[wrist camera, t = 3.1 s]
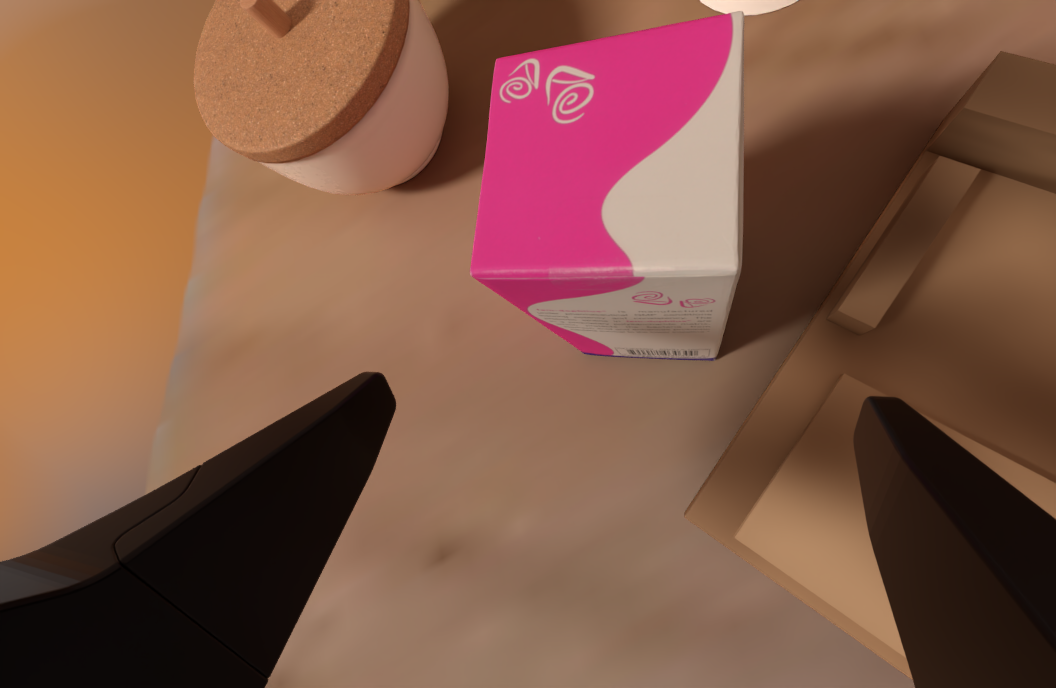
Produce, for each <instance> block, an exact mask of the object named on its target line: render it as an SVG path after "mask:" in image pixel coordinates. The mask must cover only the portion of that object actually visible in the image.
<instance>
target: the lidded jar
mask: <svg viewBox="0 0 1056 688" xmlns="http://www.w3.org/2000/svg"><path fill="white" fill-rule="evenodd" d="M194 88H195V96H196V100H197V105H198V109H199V112H200V113H201V116H202V118H203V120H204V122H205V124H206V126H207V128H208V129H209V130H210V131H211V133H212V134H213V135H214V137H215V138H217V139H218V140H219V141H220V142H221V143H223V144H224V145H225V146H227V147H228V148H230V149H232V150H234V151H235V152H237V153H239V154H241V155H243V156H245V157H247V158H250V159H252V160H254V161H258V162H259V163H261V164H263V165H264V166H266V167H268V168H270V169H272V170H274V171H276V172H277V173H279V174H281V175H283V176H285V177H287V178H290V179H292V180H294V181H296V182H299V183H301V184H303V185H306V186H308V187H312V188H315V189H318V190H322V191H325V192H330V193H334V194H343V195H363V194H370V193H376V192H380V191H383V190H386V189H388V188H391V187H393V186H396V185H399V184H402V183H404V182H406V181H408V180H410V179H412V178H413V177H414V176H416V175H417V174H418V173H420V172H421V171H422V170H423V169H424V168H425V167H426V165H427V164H428V163H429V162H430V160H431V159H432V157H433V156H434V154H435V152H436V150H437V148H438V146H439V143H440V141H441V137H442V132H443V127H444V124H445V120H446V116H447V111H448V97H449V85H448V75H447V69H446V64H445V60H444V56H443V52H442V49H441V46H440V44H439V41H438V38H437V35H436V33H435V31H434V29H433V26H432V24H431V22H430V20H429V18H428V16H427V14H426V12H425V10H424V8H423V6H422V4H421V2H420V1H419V0H216V1H215V3H214V5H213V7H212V9H211V11H210V13H209V16H208V18H207V20H206V23H205V26H204V28H203V31H202V34H201V37H200V41H199V44H198V48H197V53H196V60H195V67H194Z"/></svg>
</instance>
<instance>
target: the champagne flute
mask: <svg viewBox="0 0 1056 688" xmlns="http://www.w3.org/2000/svg"><path fill="white" fill-rule="evenodd" d="M700 1H701V2H702V3H703V4H705V5H706V6H708V7H710V8H712V9H713V10H716V11H719V12H722V13H725V14H728V13H732V12H737V11H743V13H744V15H758V14H763V13H767V12H772V11H775V10H778V9H781V8H783V7H786V6H789V5H791V4H793V3H795V2H796V1H798V0H700Z"/></svg>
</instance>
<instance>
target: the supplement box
mask: <svg viewBox="0 0 1056 688" xmlns="http://www.w3.org/2000/svg"><path fill="white" fill-rule="evenodd" d="M743 192H744V13H743V11H737V12H732V13H728V14H724V15H718V16H712V17H707V18H702V19H698V20H692V21H687V22H681V23H676V24H671V25H666V26H661V27H656V28H651V29H646V30H641V31H636V32H631V33H626V34H621V35H615V36H610V37H605V38H600V39H595V40H590V41H585V42H580V43H575V44H570V45H565V46H559V47H553V48H549V49H544V50H538V51H532V52H527V53H523V54H517V55H512V56H507V57H502V58H498V59H496V62H495V68H494V75H493V84H492V92H491V101H490V112H489V124H488V135H487V144H486V153H485V161H484V169H483V177H482V184H481V192H480V199H479V207H478V215H477V222H476V229H475V237H474V244H473V252H472V260H471V267H470V275H471V276H472V277H473V278H475V279H476V280H478V281H479V282H481V283H482V284H484V285H485V286H487V287H488V288H490V289H491V290H493V291H494V292H496V293H497V294H499V295H500V296H501V297H503V298H504V299H506V300H507V301H509V302H510V303H512V304H513V305H515V306H516V307H518V308H519V309H520V310H522V311H523V312H525V313H526V314H528V315H529V316H531V317H532V318H534V319H535V320H537V321H538V322H540V323H541V324H542V325H544V326H545V327H547V328H548V329H550V330H551V331H552V332H554V333H555V334H557V335H558V336H560V337H561V338H563V339H564V340H566V341H567V342H569V343H570V344H572V345H573V346H574V347H576V348H577V349H579V350H580V351H581V352H582V353H584V354H589V355H598V356H612V357H631V358H652V359H676V360H710V361H714V360H715V359H716V357H717V355H718V352H719V348H720V345H721V342H722V338H723V334H724V330H725V327H726V322H727V319H728V315H729V312H730V308H731V305H732V301H733V298H734V294H735V290H736V286H737V283H738V280H739V277H740V273H741V267H742V251H743Z"/></svg>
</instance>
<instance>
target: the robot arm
mask: <svg viewBox="0 0 1056 688" xmlns="http://www.w3.org/2000/svg"><path fill="white" fill-rule="evenodd" d="M395 409H396V400H395V397H394V395H393V393H392V391H391V389H390V387H389V385H388V382H387V380H386V378H385V377H384V375H383V374H381V373H379V372H363V373H361V374H359V375H357V376H355V377H354V378H352V379H350V380H348V381H347V382H345V383H343V384H341V385H340V386H338V387H336V388H334V389H333V390H331V391H329V392H327V393H325V394H324V395H322V396H320V397H318V398H317V399H315V400H313V401H311V402H310V403H308V404H306V405H304V406H303V407H301V408H299V409H297V410H296V411H294V412H292V413H290V414H289V415H287V416H285V417H283V418H281V419H280V420H278V421H276V422H274V423H273V424H271V425H269V426H267V427H266V428H264V429H262V430H260V431H259V432H257V433H255V434H253V435H252V436H250V437H248V438H246V439H245V440H243V441H241V442H239V443H237V444H236V445H234V446H232V447H230V448H229V449H227V450H225V451H223V452H222V453H220V454H218V455H216V456H215V457H213V458H211V459H209V460H208V461H206V462H204V463H203V464H202V465H199V466H197V467H195V468H193V469H192V470H190V471H188V472H186V473H185V474H183V475H181V476H179V477H177V478H176V479H174V480H172V481H170V482H168V483H167V484H165V485H163V486H161V487H159V488H158V489H156V490H154V491H152V492H150V493H148V494H146V495H144V496H142V497H141V498H139V499H137V500H135V501H133V502H131V503H129V504H127V505H125V506H123V507H121V508H120V509H118V510H116V511H114V512H112V513H110V514H108V515H106V516H104V517H102V518H100V519H98V520H96V521H94V522H92V523H90V524H88V525H86V526H84V527H82V528H80V529H78V530H77V531H74V532H72V533H70V534H69V535H67V536H65V537H63V538H61V539H59V540H57V541H55V542H53V543H51V544H49V545H47V546H45V547H42V548H40V549H38V550H36V551H33V552H31V553H28V554H26V555H23V556H20V557H16V558H13V559H10V560H6V561H2V562H0V688H265V686H266V684H267V682H268V678H269V677H270V676H271V673H272V671H273V669H274V667H275V665H276V663H277V661H278V659H279V657H280V655H281V653H282V651H283V649H284V647H285V645H286V643H287V641H288V639H289V637H290V635H291V633H292V631H293V629H294V627H295V625H296V623H297V621H298V619H299V617H300V615H301V613H302V611H303V609H304V607H305V605H306V603H307V601H308V599H309V597H310V595H311V593H312V591H313V589H314V587H315V585H316V583H317V581H318V579H319V577H320V575H321V573H322V571H323V569H324V567H325V565H326V563H327V561H328V559H329V557H330V555H331V553H332V551H333V549H334V547H335V545H336V543H337V541H338V539H339V537H340V535H341V533H342V531H343V529H344V527H345V525H346V523H347V521H348V519H349V517H350V515H351V513H352V511H353V509H354V507H355V504H356V502H357V500H358V498H359V496H360V494H361V492H362V490H363V488H364V486H365V484H366V482H367V480H368V478H369V476H370V474H371V472H372V470H373V467H374V465H375V462H376V460H377V457H378V455H379V452H380V449H381V447H382V444H383V441H384V439H385V436H386V434H387V431H388V428H389V426H390V423H391V420H392V418H393V415H394V412H395ZM853 445H854V452H855V457H856V463H857V469H858V475H859V481H860V487H861V493H862V499H863V505H864V511H865V516H866V522H867V527H868V532H869V537H870V541H871V544H872V548H873V552H874V555H875V558H876V561H877V565H878V568H879V571H880V574H881V578H882V581H883V584H884V587H885V591H886V594H887V597H888V600H889V604H890V607H891V610H892V613H893V617H894V620H895V623H896V626H897V630H898V633H899V636H900V639H901V643H902V646H903V649H904V652H905V656H906V659H907V662H908V665H909V669H910V672H911V675H912V678H913V682H914V685H915V688H1056V519H1055V518H1054V517H1053V516H1051V515H1050V514H1049V513H1047V512H1046V511H1045V510H1044V509H1042V508H1041V507H1040V506H1038V505H1037V504H1036V503H1035V502H1033V501H1032V500H1031V499H1029V498H1028V497H1027V496H1026V495H1024V494H1023V493H1022V492H1020V491H1019V490H1018V489H1017V488H1015V487H1014V486H1013V485H1011V484H1010V483H1009V482H1008V481H1006V480H1005V479H1004V478H1002V477H1001V476H1000V475H998V474H997V473H996V472H995V471H993V470H992V469H991V468H989V467H988V466H987V465H986V464H984V463H983V462H982V461H980V460H979V459H978V458H977V457H975V456H974V455H973V454H971V453H970V452H969V451H968V450H966V449H965V448H964V447H962V446H961V445H960V444H959V443H957V442H956V441H955V440H953V439H952V438H951V437H950V436H948V435H947V434H946V433H944V432H943V431H942V430H941V429H939V428H938V427H937V426H935V425H934V424H933V423H932V422H930V421H929V420H928V419H926V418H925V417H924V416H923V415H921V414H920V413H919V412H917V411H916V410H915V409H914V408H912V407H911V406H910V405H908V404H907V403H906V402H905V401H903V400H902V399H900V398H897V397H886V396H869V397H867V398H866V399H865V400H864V402H863V404H862V408H861V411H860V414H859V417H858V421H857V424H856V427H855V430H854V436H853Z"/></svg>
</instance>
